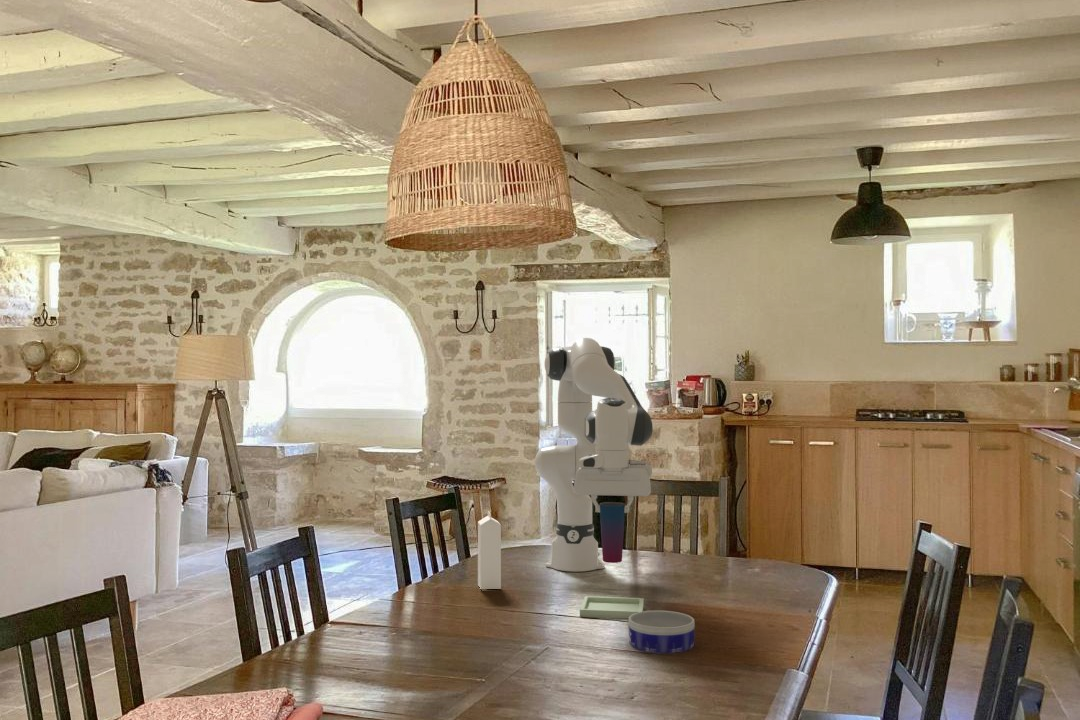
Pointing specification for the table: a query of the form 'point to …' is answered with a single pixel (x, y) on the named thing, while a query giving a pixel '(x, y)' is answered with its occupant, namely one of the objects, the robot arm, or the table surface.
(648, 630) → the dog bowl
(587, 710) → the table surface
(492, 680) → the table surface
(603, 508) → the cup
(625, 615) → the tray
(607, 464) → the robot arm
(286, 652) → the table surface
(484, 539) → the milk
